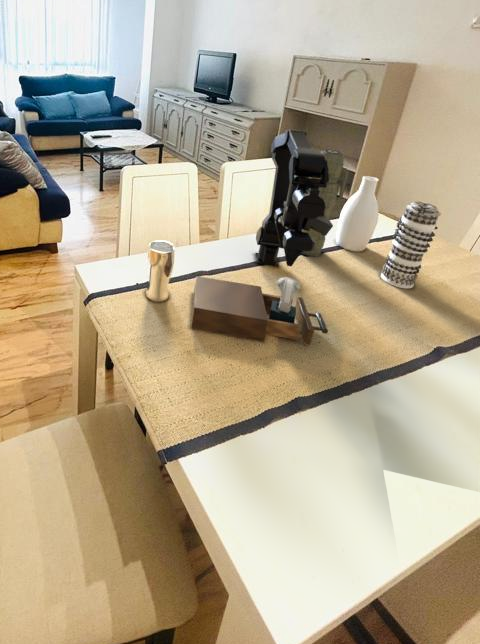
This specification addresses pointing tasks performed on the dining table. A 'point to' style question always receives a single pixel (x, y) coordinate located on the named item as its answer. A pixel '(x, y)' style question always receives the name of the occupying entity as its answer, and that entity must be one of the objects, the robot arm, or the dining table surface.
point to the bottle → (359, 217)
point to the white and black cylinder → (410, 244)
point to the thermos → (329, 194)
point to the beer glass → (159, 269)
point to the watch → (285, 301)
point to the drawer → (291, 328)
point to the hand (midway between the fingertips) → (285, 256)
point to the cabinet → (229, 308)
